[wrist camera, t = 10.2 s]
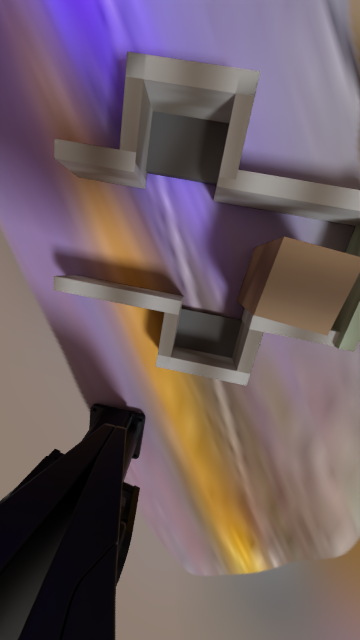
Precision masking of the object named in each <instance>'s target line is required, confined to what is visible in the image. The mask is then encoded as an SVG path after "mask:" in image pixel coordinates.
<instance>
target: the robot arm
mask: <svg viewBox="0 0 360 640" xmlns="http://www.w3.org/2000/svg"><path fill="white" fill-rule="evenodd" d="M95 408H96V409H95ZM140 418H142V419H140ZM144 424H145V415H144V414H141V413H136V412H132V411H127V410H123V409H118V408H114V407H109V406H105V405H100V404H93V406H92V407H91V411H90V426H89V431H88V432H87V434H86V435H85V437H84V438H83V440H82V441H81V442H80V443H79V444H77V445H76V446H75V447H74V448H72V449H71V450H70V451H68V452H67V453H66V454H63V453H60V451H59V450H57V449H54V450H53V451H52V452H51V454H50V455H49V456H46V457H45V458H44V459H43V460H42V461H41V462H40V463H39V464H38V465H37V466H36V467H35V468H34V470H32V472H31V473H30V474H29V475H28V476H27V477H26V478H25V479H24V480H23V481H22V482H21V483H20V484H19V485H18V486H17V487H16V488H15V489H14V490H13V491H11V492H10V493H9V494H8V495H7V496H5V497H4V498H3V499H2V500H1V501H0V640H115V596H116V586H117V583H118V581H119V578H120V575H121V572H122V569H123V566H124V563H125V560H126V557H127V553H128V550H129V546H130V542H131V537H132V532H133V525H134V520H135V514H136V508H137V502H138V496H139V490H140V488H139V487H137V486H132V485H130V484H128V483H125V482H124V479H125V476H126V473H127V470H128V468H129V465H130V462H131V459H132V458H134V459H137V458H138V457H139V454H140V449H141V443H142V437H143V431H144Z"/></svg>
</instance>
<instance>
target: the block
mask: <svg viewBox="0 0 360 640" xmlns="http://www.w3.org/2000/svg"><path fill="white" fill-rule="evenodd" d="M359 273H360V257H358V256H355V255H351V254H347V253H344V252H340V251H336V250H332V249H329V248H325V247H321V246H318V245H314V244H310V243H307V242H303V241H299V240H296V239H292V238H288V237H281V238H279V239H276V240H273V241H271V242H268V243H265V244H263V245H260V246H257V247H255V250H254V252H253V255H252V258H251V261H250V264H249V267H248V269H247V272H246V275H245V278H244V281H243V284H242V286H241V289H240V292H239V295H238V298H237V302H238V303H240V304H241V305H242V306H243V307H244V308H246V309H247V310H248V311H249V312H250V313H252V314H253V315H255V316H258V317H262V318H265V319H269V320H273V321H276V322H280V323H283V324H287V325H290V326H294V327H298V328H301V329H305V330H308V331H312V332H316V333H319V334H323V335H326V336H328V334H329V332H330V330H331V328H332V326H333V324H334V322H335V320H336V318H337V316H338V314H339V312H340V310H341V308H342V306H343V304H344V302H345V300H346V298H347V297H348V295H349V293H350V291H351V289H352V287H353V285H354V283H355V281H356V279H357V277H358V275H359Z"/></svg>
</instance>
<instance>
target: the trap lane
mask: <svg viewBox="0 0 360 640" xmlns="http://www.w3.org/2000/svg"><path fill="white" fill-rule="evenodd" d="M259 75H260V71H254V70H247V69H240V68H233V67H227V66H220V65H213V64H207V63H200V62H193V61H186V60H180V59H173V58H166V57H159V56H153V55H146V54H139V53H132V52H127V63H126V76H125V88H124V101H123V113H122V126H121V138H120V150H119V149H113V148H107V147H101V146H95V145H89V144H83V143H77V142H71V141H65V140H59V139H54V159H56V160H57V161H58V162H59V163H61V164H62V165H63V166H65V167H66V168H67V169H69V170H70V171H71V172H72V173H74V174H75V175H76V176H78V177H80V178H86V179H91V180H97V181H103V182H108V183H114V184H120V185H125V186H131V187H137V188H143V189H145V186H146V178H147V173H150V174H156V175H161V176H167V177H173V178H179V179H185V180H190V181H196V182H202V183H208V184H214V185H217V186H216V191H215V196H214V201H217V202H222V203H228V204H234V205H239V206H245V207H251V208H256V209H262V210H268V211H273V212H279V213H285V214H291V215H296V216H302V217H308V218H313V219H319V220H325V221H330V222H336V223H342V224H347V225H353V226H356V227H355V229H354V232H353V234H352V237H351V239H350V242H349V245H348V247H347V250H346V252H345V253H347V254H351V255H355V256H358V257H360V190H356V189H350V188H344V187H338V186H332V185H326V184H320V183H314V182H308V181H302V180H297V179H291V178H285V177H279V176H273V175H267V174H261V173H255V172H249V171H243V170H238V168H239V164H240V159H241V155H242V150H243V146H244V142H245V137H246V133H247V128H248V124H249V119H250V115H251V111H252V106H253V102H254V97H255V93H256V88H257V84H258V80H259ZM54 290H56V291H61V292H66V293H71V294H76V295H81V296H86V297H91V298H96V299H101V300H106V301H111V302H116V303H121V304H126V305H131V306H136V307H141V308H146V309H151V310H156V311H161V312H165V313H164V319H163V325H162V331H161V337H160V343H159V349H158V355H157V361H156V367H161V368H165V369H170V370H175V371H180V372H184V373H189V374H194V375H199V376H203V377H208V378H213V379H218V380H222V381H227V382H232V383H237V384H241V385H246V386H247V383H248V380H249V376H250V373H251V370H252V367H253V364H254V361H255V358H256V354H257V351H258V348H259V345H260V342H261V339H262V336H263V333H264V332H266V333H271V334H276V335H281V336H286V337H291V338H296V339H301V340H306V341H311V342H316V343H321V344H326V345H331V346H335V347H337V348H339V349H344V350H349V351H355V349H356V346H357V344H358V342H359V340H360V273H359V275H358V277H357V279H356V281H355V283H354V285H353V287H352V289H351V291H350V293H349V295H348V297H347V298H346V300H345V302H344V304H343V306H342V308H341V310H340V312H339V314H338V316H337V318H336V320H335V322H334V324H333V326H332V328H331V330H330V332H329V334H328V336H326V335H323V334H319V333H316V332H312V331H308V330H305V329H301V328H298V327H294V326H290V325H287V324H283V323H280V322H276V321H273V320H269V319H265V318H262V317H258V316H255V315H253V314H252V313H250V312H249V311H248V310H247V309H246V308H245V309H244V312H243V316H242V319H241V320H240V319H235V318H230V317H224V316H219V315H214V314H209V313H204V312H199V311H194V310H189V309H184V308H182V302H183V297H184V296H180V295H175V294H170V293H165V292H160V291H155V290H150V289H145V288H140V287H134V286H129V285H124V284H119V283H114V282H109V281H104V280H99V279H94V278H88V277H83V276H78V275H65V276H54Z"/></svg>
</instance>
